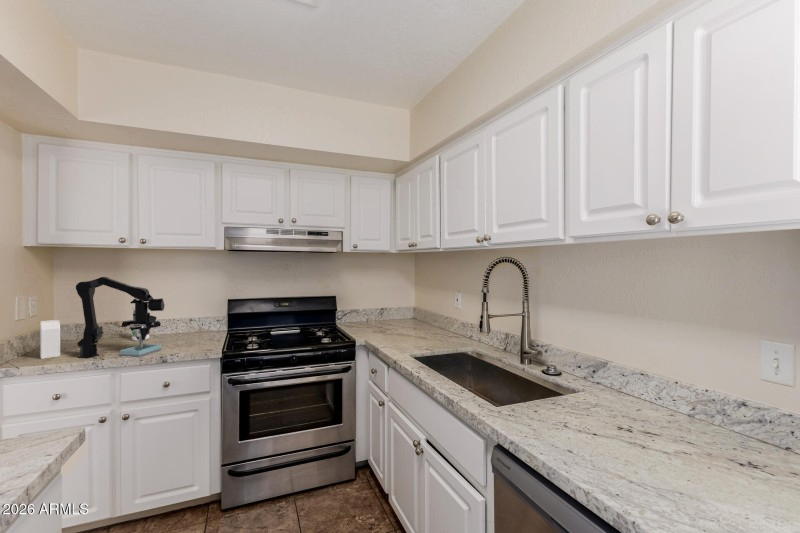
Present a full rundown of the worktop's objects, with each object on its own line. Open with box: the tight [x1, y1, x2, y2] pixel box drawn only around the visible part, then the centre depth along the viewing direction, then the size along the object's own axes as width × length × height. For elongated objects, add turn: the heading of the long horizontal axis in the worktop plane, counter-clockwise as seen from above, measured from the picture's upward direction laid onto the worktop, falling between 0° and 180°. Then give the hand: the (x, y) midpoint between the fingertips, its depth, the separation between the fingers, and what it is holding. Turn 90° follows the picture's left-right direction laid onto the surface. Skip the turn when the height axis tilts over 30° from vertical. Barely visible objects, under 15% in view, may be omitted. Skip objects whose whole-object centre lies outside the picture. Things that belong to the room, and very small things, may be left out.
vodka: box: [131, 299, 150, 342], centre depth 230 cm, size 9×9×30 cm
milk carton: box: [39, 319, 61, 360], centre depth 187 cm, size 7×7×19 cm
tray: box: [119, 343, 162, 358], centre depth 196 cm, size 11×15×3 cm
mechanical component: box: [131, 329, 151, 347], centre depth 196 cm, size 3×10×10 cm, turn 174°
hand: (141, 339), depth 196 cm, fingers closed on mechanical component, 3 cm apart
